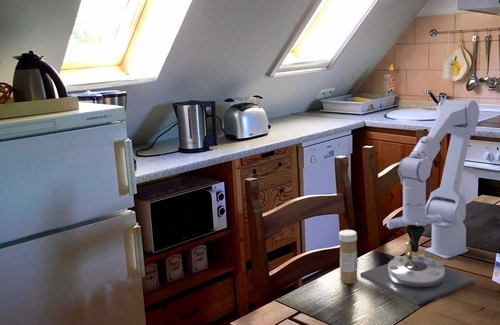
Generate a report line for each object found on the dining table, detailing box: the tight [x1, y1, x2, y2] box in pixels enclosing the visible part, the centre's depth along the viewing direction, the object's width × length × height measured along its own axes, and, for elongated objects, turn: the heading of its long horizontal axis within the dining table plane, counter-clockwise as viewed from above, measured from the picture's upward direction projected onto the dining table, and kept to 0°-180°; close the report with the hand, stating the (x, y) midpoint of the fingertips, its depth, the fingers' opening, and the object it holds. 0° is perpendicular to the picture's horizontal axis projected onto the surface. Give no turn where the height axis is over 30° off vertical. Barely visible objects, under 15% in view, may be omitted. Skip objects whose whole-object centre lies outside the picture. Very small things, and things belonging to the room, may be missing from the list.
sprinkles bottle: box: [338, 229, 358, 284], centre depth 141 cm, size 5×5×14 cm
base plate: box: [359, 254, 475, 306], centre depth 141 cm, size 20×20×1 cm
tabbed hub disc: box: [387, 240, 445, 287], centre depth 140 cm, size 14×14×7 cm
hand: (414, 250), depth 145 cm, fingers closed, pressing on tabbed hub disc
